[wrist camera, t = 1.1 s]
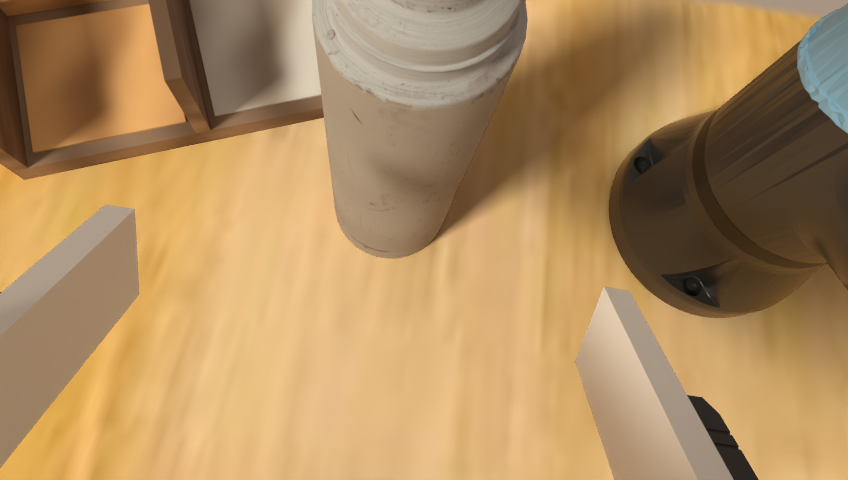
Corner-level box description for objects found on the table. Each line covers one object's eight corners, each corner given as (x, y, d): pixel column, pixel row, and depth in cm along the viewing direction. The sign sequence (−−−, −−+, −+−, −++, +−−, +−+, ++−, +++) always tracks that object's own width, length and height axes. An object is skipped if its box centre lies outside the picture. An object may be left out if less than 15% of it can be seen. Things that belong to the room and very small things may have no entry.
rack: (335, -30, 48) (330, -119, 40) (375, 106, 45) (379, 40, 37) (3, 24, 43) (-79, -63, 35) (24, 179, 40) (-61, 122, 32)
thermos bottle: (312, 214, 42) (229, -124, 15) (380, 135, 44) (413, -282, 17) (401, 281, 41) (479, 51, 14) (465, 197, 44) (636, -135, 17)
